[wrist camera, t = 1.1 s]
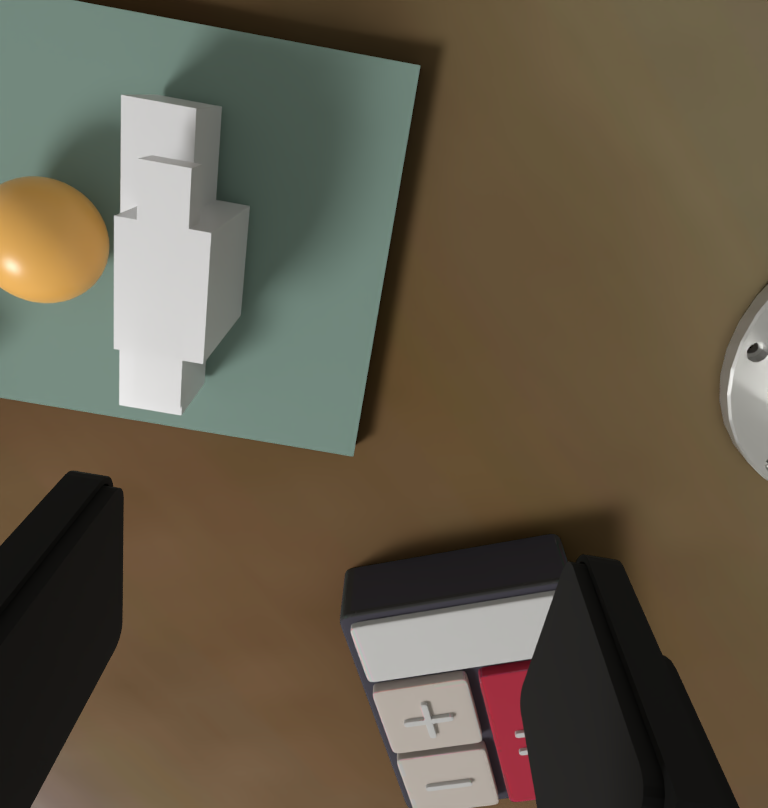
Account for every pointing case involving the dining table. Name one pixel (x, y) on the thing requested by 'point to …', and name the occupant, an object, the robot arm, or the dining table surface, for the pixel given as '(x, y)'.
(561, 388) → the dining table surface
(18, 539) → the robot arm
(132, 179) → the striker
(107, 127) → the pitch
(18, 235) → the ball
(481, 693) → the calculator
